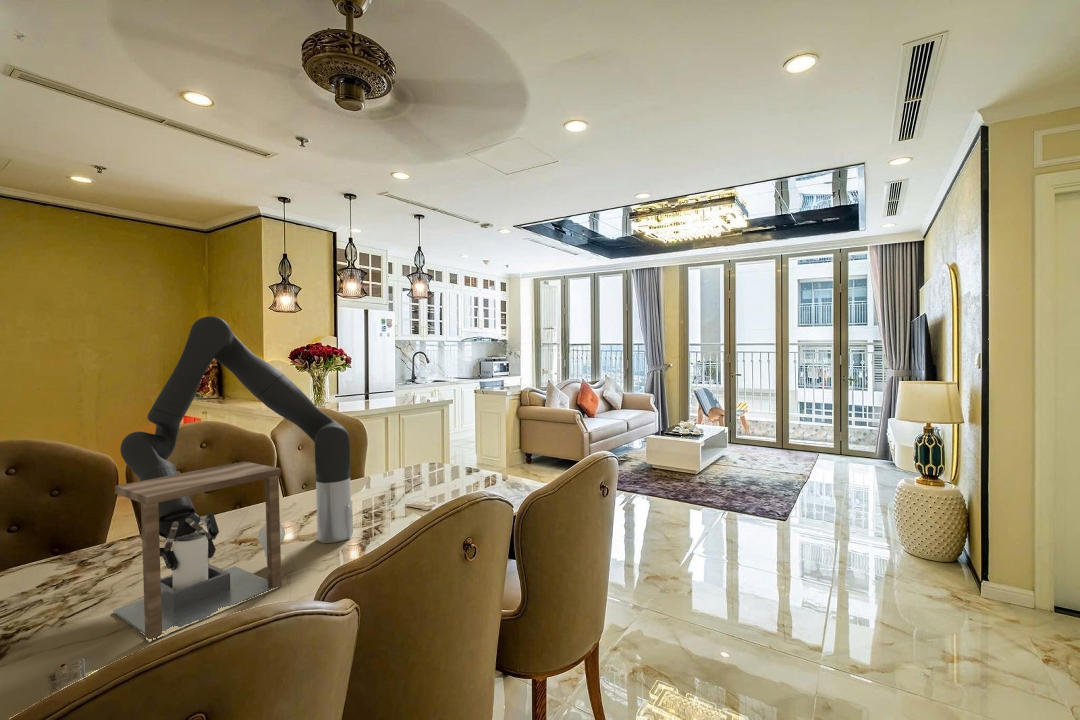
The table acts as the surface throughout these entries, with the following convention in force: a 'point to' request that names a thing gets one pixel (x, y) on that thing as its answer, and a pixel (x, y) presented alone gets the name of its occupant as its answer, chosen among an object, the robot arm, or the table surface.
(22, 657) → the table surface
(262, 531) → the lightbulb
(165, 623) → the socket
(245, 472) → the wooden arch stand
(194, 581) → the can
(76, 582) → the table surface
